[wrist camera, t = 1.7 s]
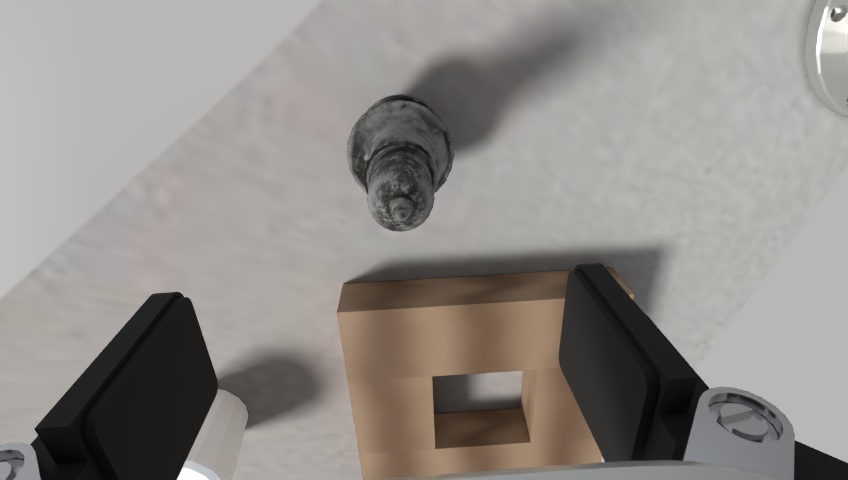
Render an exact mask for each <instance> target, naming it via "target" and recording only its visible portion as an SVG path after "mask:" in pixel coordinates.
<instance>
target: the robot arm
mask: <svg viewBox="0 0 848 480" xmlns="http://www.w3.org/2000/svg"><path fill="white" fill-rule="evenodd" d="M805 63H806V68H807V73H808V77H809V81H810V83H811V85H812V87H813V89H814V91H815V93H816V95H817V96H818V97H819V99H820V100H821V101H822V102H823V103H824V104H825V105H826V106H827V107H828V108H830V109H831V110H833V111H835V112H836V113H838V114H840V115H842V116H845V117H848V0H816V3H815V6H814V8H813V11H812V14H811V17H810V20H809V25H808V31H807V36H806V42H805ZM559 364H560V368H561V370H562V372H563V374H564V377H565V379H566V381H567V383H568V385H569V387H570V389H571V391H572V393H573V395H574V398H575V400H576V402H577V404H578V406H579V408H580V410H581V412H582V414H583V416H584V418H585V421H586V423H587V425H588V427H589V429H590V431H591V433H592V435H593V437H594V439H595V442H596V444H597V446H598V448H599V450H600V452H601V454H602V456H603V458H604V460H605V462H603V463H587V464H571V465H555V466H541V467H529V468H516V469H503V470H490V471H478V472H465V473H452V474H439V475H427V476H415V477H403V478H391V479H379V480H848V463H846V462H844V461H841V460H839V459H837V458H834V457H832V456H830V455H828V454H825V453H823V452H820V451H818V450H816V449H814V448H811V447H809V446H806V445H804V444H802V443H800V442H797V441H795V438H794V437H795V435H794V430H793V427H792V424H791V423H790V422H789V420H788V419H787V417H786V416H785V415H784V414H783V413H782V412H781V411H780V410H779V409H778V408H777V407H775V406H774V405H773V404H771V403H769V402H768V401H766V400H765V399H763V398H762V397H759V396H756V395H755V394H752V393H750V392H748V391H744V390H740V389H737V388H730V387H716V388H711V389H709V387H708V386H707V385H706V384H705V383H704V381H703V380H702V379H701V378H700V377H699V376H698V375H697V373H696V372H695V371H694V370H693V369H692V367H691V366H690V365H689V364H688V363H687V362H686V360H685V359H684V358H683V357H682V356H681V355H680V353H679V352H678V351H677V350H676V349H675V347H674V346H673V345H672V344H671V343H670V342H669V340H668V339H667V338H666V337H665V336H664V335H663V333H662V332H661V331H660V330H659V329H658V328H657V326H656V325H655V324H654V323H653V322H652V320H651V319H650V318H649V317H648V316H647V315H646V314H644V313H643V311H642V310H641V309H640V308H639V307H638V306H637V304H636V303H635V302H634V301H633V300H632V298H631V297H630V296H629V295H628V294H627V293H626V291H625V290H624V289H623V288H622V287H621V286H620V284H619V283H618V282H617V281H616V280H615V278H614V277H613V276H612V275H611V274H610V273H609V271H608V270H607V269H606V268H605V267H604V265H602V264H600V263H597V264H582V265H577V266H576V268H575V271H570V272H569V274H568V279H567V287H566V296H565V304H564V313H563V321H562V330H561V338H560V347H559ZM217 391H218V381H217V378H216V375H215V371H214V368H213V365H212V362H211V359H210V356H209V353H208V350H207V347H206V344H205V341H204V338H203V335H202V332H201V329H200V326H199V323H198V320H197V317H196V314H195V311H194V308H193V305H192V302H191V300H190V299H189V298H187V297H184V296H183V295H182V294H181V293H179V292H171V293H156V294H152V295H151V296H150V297H149V298H148V299H147V300H146V302H145V303H144V304H143V305H142V306H141V307H140V308H139V310H138V311H137V312H136V313H135V314H134V315H133V316H132V318H131V319H130V320H129V321H128V322H127V323H126V324H125V326H124V327H123V328H122V329H121V330H120V331H119V332H118V334H117V335H116V336H115V337H114V338H113V339H112V341H111V342H110V343H109V344H108V345H107V346H106V347H105V349H104V350H103V351H102V352H101V353H100V354H99V355H98V357H97V358H96V359H95V360H94V361H93V362H92V363H91V365H90V366H89V367H88V368H87V369H86V370H85V371H84V373H83V374H82V375H81V376H80V377H79V378H78V379H77V381H76V382H75V383H74V384H73V385H72V386H71V388H70V389H69V390H68V391H67V392H66V393H65V394H64V396H63V397H62V398H61V399H60V400H59V401H58V402H57V404H56V405H55V406H54V407H53V408H52V409H51V410H50V412H49V413H48V414H47V415H46V416H45V417H44V418H43V420H42V421H41V422H40V423H39V424H38V425H37V426H36V428H35V431H36V432H37V434H38V436H37V438H36V439H35V440H34V441H33V442H32V444H31V445H28V444H26V443H9V444H4V445H0V480H177V478H178V476H179V474H180V472H181V470H182V468H183V466H184V463H185V461H186V459H187V457H188V455H189V453H190V451H191V448H192V446H193V444H194V442H195V440H196V438H197V436H198V434H199V431H200V429H201V427H202V425H203V423H204V421H205V419H206V416H207V414H208V412H209V410H210V408H211V406H212V404H213V401H214V399H215V397H216V395H217Z"/></svg>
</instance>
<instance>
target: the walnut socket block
mask: <svg viewBox="0 0 848 480" xmlns="http://www.w3.org/2000/svg"><path fill="white" fill-rule="evenodd" d="M606 269H607V270H608V271H609V273H610V274H611V275H612V276H613V277H614V278H615V280H616V281H617V282H618V283H619V284H620V286H621V287H622V288H623V289H624V290H625V291H626V293H627V294H628V295H629V296H630V297H631V298H632V300H633V298H634V293H633V292H632V291H631V290H630V289H629V287H628V286H627V285H626V284H625V283H624V281H623V280H622V279H621V278H620V277H619V275H618V274H617V273H616V272H615V271H614V269H613V268H606ZM570 271H575V270H565V271H549V272H532V273H516V274H499V275H483V276H466V277H450V278H433V279H417V280H400V281H384V282H367V283H351V284H343V287H342V291H341V296H340V301H339V306H338V310H337V316H338V322H339V329H340V335H341V342H342V348H343V354H344V361H345V367H346V373H347V380H348V386H349V392H350V399H351V405H352V411H353V418H354V424H355V431H356V437H357V443H358V450H359V456H360V462H361V469H362V475H363V480H379V479H391V478H403V477H415V476H427V475H439V474H452V473H465V472H478V471H490V470H503V469H516V468H529V467H541V466H555V465H571V464H587V463H600V462H601V457H602V454H601V452H600V450H599V448H598V446H597V444H596V442H595V439H594V437H593V435H592V433H591V431H590V429H589V427H588V425H587V423H586V421H585V418H584V416H583V414H582V412H581V410H580V408H579V406H578V404H577V402H576V400H575V398H574V395H573V393H572V391H571V389H570V387H569V385H568V383H567V381H566V379H565V377H564V374H563V372H562V370H561V368H560V364H559V347H560V338H561V330H562V321H563V313H564V304H565V296H566V287H567V279H568V274H569V272H570ZM522 370H523V378H522V392H521V405H520V408H513V409H498V410H483V411H469V412H454V413H439V414H434V408H433V386H432V376H446V375H461V374H476V373H491V372H507V371H522Z"/></svg>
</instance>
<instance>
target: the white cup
mask: <svg viewBox="0 0 848 480" xmlns="http://www.w3.org/2000/svg"><path fill="white" fill-rule="evenodd" d="M248 416H249V415H248V412H247V408H246V406H245V404H244V403H243V402H242V401H241V400H240V399H239V398H238V397H237V396H235V395H233V394H231V393H229V392H228V391H225V390H220V389H218V391H217V395H216V397H215V399H214V401H213V404H212V406H211V408H210V410H209V412H208V414H207V416H206V419H205V421H204V423H203V425H202V427H201V429H200V431H199V434H198V436H197V438H196V440H195V442H194V444H193V446H192V448H191V451H190V453H189V455H188V457H187V459H186V461H185V463H184V466H183V468H182V470H181V472H180V474H179V476H178V478H177V480H232V477H233V473H234V469H235V466H236V462H237V458H238V454H239V450H240V446H241V443H242V439H243V435H244V431H245V427H246V424H247V420H248Z"/></svg>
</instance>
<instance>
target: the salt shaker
mask: <svg viewBox="0 0 848 480" xmlns="http://www.w3.org/2000/svg"><path fill="white" fill-rule="evenodd" d="M453 157H454V153H453V142H452V139H451V137H450V134H449V131H448V129H447V127H446V126H445V124H444V123H443V122H442V120H441V119H440V117H439V116H437V115H436V114H435V113H434V112H433V111H432V110H431V109H430V108H429V107H428V106H427V105H426V104H424V103H423V102H421V101H419V100H417V99H415V98H412V97H407V96H392V97H387V98H385V99H383V100H380V101H378V102H377V103H375V104H374V105H373V106H372V107H370V108H369V109H368V111H367V112H366V113H365V114H363V115H362V116H361V117H360V119H359V120H358V121H357V123H356V124H355V126H354V127H353V129H352V131H351V134H350V137H349V140H348V145H347V159H348V164H349V169H350V171H351V173H352V175H353V177H354V179H355V181H356V182H357V184H358V185H359V186H360V187H361V188H362V189H363V190H364V191H365V192H366V193H367V194H368V197H367V201H368V207H369V210H370V212H371V214H372V216H373V218H374V219H375V220H376V221H377V223H378V224H380V225H381V226H383V227H384V228H386V229H389V230H392V231H399V232H402V231H409V230H411V229H414V228H416V227H418V226H419V225H421V224H422V223H423V222H424V221H425V220H426V219H427V218H428V216H429V214H430V212H431V210H432V208H433V203H434V193H435V192H437V191H438V190H439V188H440V187H441V186H442V185H443V184H444V182H445V181H446V179H447V177H448V175H449V173H450V171H451V168H452V162H453Z"/></svg>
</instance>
